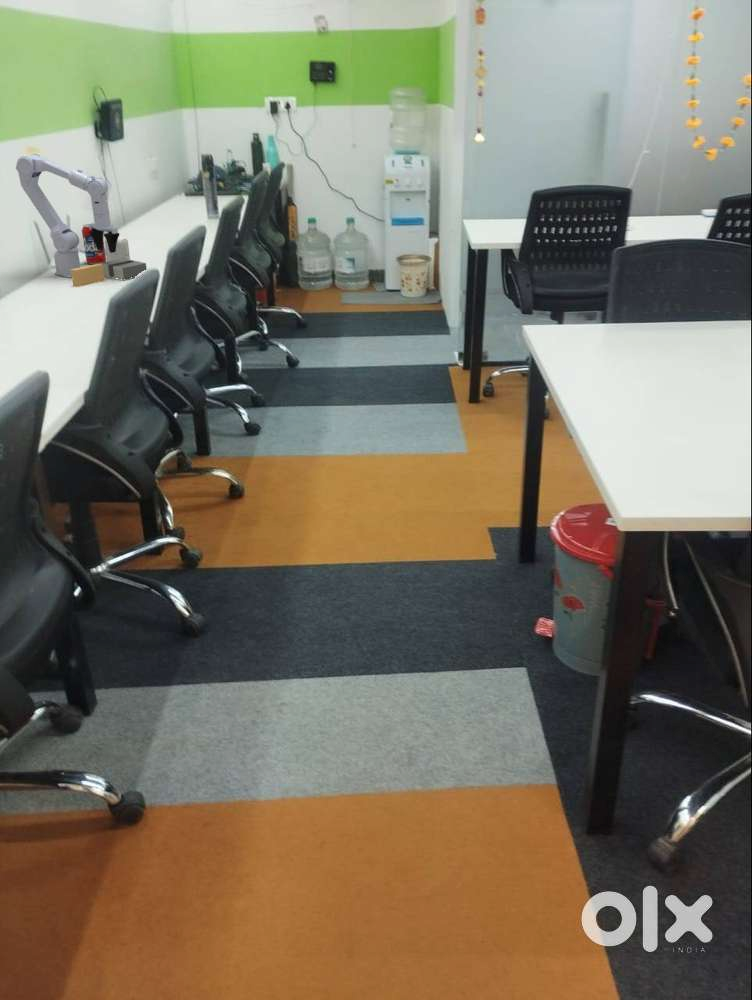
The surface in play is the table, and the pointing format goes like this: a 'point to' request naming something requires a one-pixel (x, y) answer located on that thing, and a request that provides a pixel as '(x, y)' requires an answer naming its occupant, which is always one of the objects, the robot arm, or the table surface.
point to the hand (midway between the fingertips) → (106, 250)
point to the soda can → (92, 248)
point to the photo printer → (118, 250)
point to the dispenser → (123, 268)
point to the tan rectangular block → (87, 275)
